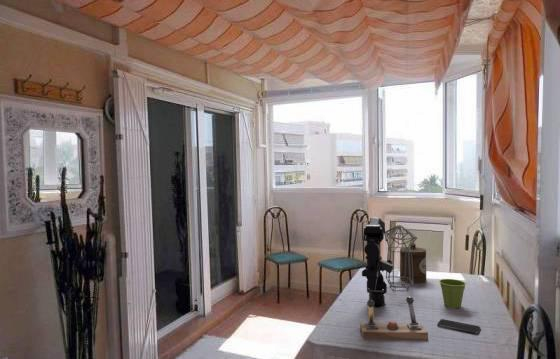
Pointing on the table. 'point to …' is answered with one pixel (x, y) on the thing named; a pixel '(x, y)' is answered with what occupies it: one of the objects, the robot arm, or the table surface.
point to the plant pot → (452, 292)
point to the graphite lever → (411, 310)
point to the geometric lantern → (397, 251)
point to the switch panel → (393, 331)
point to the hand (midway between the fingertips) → (373, 290)
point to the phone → (459, 326)
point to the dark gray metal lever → (371, 312)
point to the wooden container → (418, 264)
